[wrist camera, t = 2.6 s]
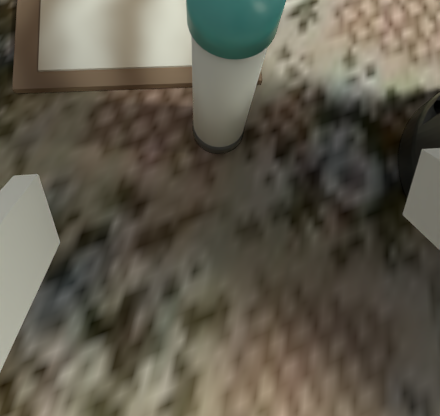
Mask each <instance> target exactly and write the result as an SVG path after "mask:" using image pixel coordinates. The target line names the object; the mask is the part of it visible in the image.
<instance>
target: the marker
mask: <svg viewBox="0 0 440 416" xmlns="http://www.w3.org/2000/svg"><path fill="white" fill-rule="evenodd" d="M285 2H286V0H186V11H187V25H188V29H189V31H190V34H191V42H192V88H193V135H194V138H195V140H196V142H197V143H198V145H199V146H200V147H201V148H203V149H204V150H206V151H208V152H211V153H216V154H221V153H226V152H229V151H231V150H233V149H234V148H235V147H236V146H237V145H238V144H239V143H240V141H241V139H242V136H243V132H244V128H245V123H246V120H247V116H248V113H249V109H250V106H251V102H252V99H253V96H254V92H255V89H256V85H257V82H258V78H259V75H260V71H261V68H262V65H263V61H264V58H265V54H266V51H267V47H268V46H269V45H270V43H271V42H272V40H273V39H274V37H275V34H276V31H277V28H278V25H279V22H280V18H281V15H282V12H283V9H284V5H285Z"/></svg>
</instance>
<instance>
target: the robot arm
mask: <svg viewBox="0 0 440 416" xmlns="http://www.w3.org/2000/svg"><path fill="white" fill-rule="evenodd" d="M398 166H399V174H400V179H401V183H402V186H403V190H404V192H405V195H406V197H407V201H406V205H405V208H404V211H403V216H404V217H405V218H406V219H407V220H408V221H410V222H411V223H412V224H413V225H414V226H415V227H416V228H417V229H418V230H419V231H420V232H421V233H422V234H423V235H424V236H425V237H426V238H427V239H428V240H429V241H430V242H431V243H433V244H434V245H435V246H436V247H437V248H438V249H439V250H440V92H439V93H438V94H437V95H435V96H434V97H433V98H432V99H431V100H429V101H428V102H427V103H426V104H424V105H423V106H422V107H421V108H420V109H419V110H418V111H417V112H416V113H415V114H414V115H413V116H412V118H411V119H410V121H409V122H408V124H407V126H406V128H405V130H404V132H403V135H402V138H401V141H400V146H399V154H398ZM59 244H60V240H59V237H58V234H57V231H56V228H55V224H54V221H53V218H52V215H51V212H50V209H49V206H48V203H47V199H46V196H45V193H44V190H43V187H42V184H41V181H40V178H39V175H38V174H30V175H14V176H13V177H12V178H11V179H10V180H9V181H8V182H7V183H6V185H5V186H4V187H3V188H2V189H1V190H0V371H1V369H2V367H3V365H4V363H5V360H6V358H7V356H8V354H9V352H10V350H11V348H12V345H13V343H14V341H15V339H16V337H17V335H18V332H19V330H20V328H21V326H22V324H23V322H24V320H25V317H26V315H27V313H28V311H29V309H30V307H31V304H32V302H33V300H34V298H35V296H36V294H37V292H38V289H39V287H40V285H41V283H42V281H43V279H44V276H45V274H46V272H47V270H48V268H49V266H50V264H51V261H52V259H53V257H54V255H55V253H56V251H57V248H58V246H59Z"/></svg>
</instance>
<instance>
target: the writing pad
mask: <svg viewBox="0 0 440 416" xmlns="http://www.w3.org/2000/svg"><path fill="white" fill-rule="evenodd" d="M261 83H262V74H261V71H260V75H259V78H258V82H257V85H261ZM180 87H192V42H191V34H190V31H189V29H188V25H187V11H186V0H17V14H16V31H15V49H14V66H13V84H12V90H13V91H14V92H15V93H43V92H71V91H98V90H125V89H153V88H180Z"/></svg>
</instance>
